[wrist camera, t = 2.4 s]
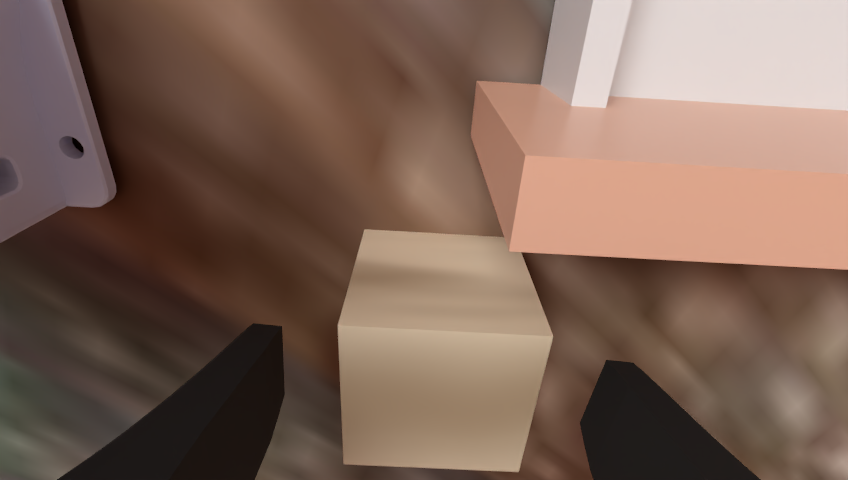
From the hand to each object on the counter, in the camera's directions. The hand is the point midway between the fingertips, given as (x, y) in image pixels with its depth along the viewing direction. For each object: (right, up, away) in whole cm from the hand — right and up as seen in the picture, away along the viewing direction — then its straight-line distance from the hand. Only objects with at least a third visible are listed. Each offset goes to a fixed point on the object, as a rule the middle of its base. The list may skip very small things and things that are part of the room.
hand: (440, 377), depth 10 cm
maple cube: (0, +2, +3) cm, 3 cm away
